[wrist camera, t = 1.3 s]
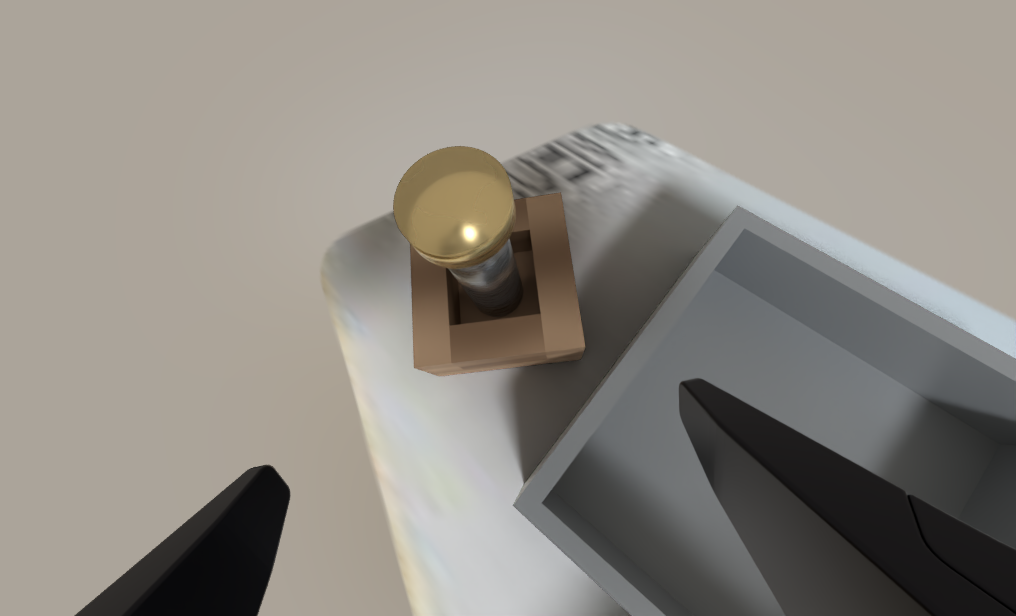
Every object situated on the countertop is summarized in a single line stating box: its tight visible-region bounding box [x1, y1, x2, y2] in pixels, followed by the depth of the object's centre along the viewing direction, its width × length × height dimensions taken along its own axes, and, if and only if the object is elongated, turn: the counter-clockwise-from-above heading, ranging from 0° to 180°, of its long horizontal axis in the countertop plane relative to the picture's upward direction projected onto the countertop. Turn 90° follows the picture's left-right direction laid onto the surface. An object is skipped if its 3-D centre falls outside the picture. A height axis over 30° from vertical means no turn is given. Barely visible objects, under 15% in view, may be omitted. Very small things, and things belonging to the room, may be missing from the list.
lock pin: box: [393, 146, 523, 317], centre depth 17 cm, size 4×4×10 cm
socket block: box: [410, 192, 585, 376], centre depth 21 cm, size 8×8×4 cm
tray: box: [513, 206, 1016, 616], centre depth 16 cm, size 16×16×5 cm
